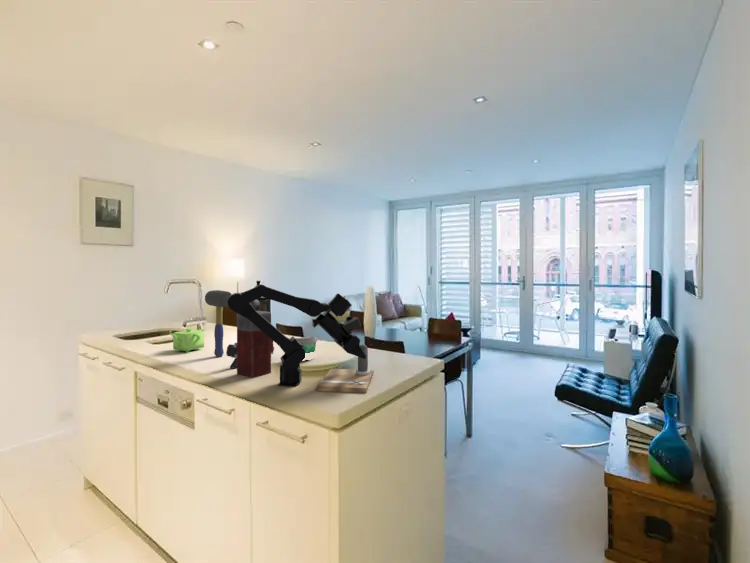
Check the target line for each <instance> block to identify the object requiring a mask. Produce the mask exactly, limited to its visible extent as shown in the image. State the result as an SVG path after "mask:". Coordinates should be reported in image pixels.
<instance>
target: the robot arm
mask: <svg viewBox="0 0 750 563" xmlns="http://www.w3.org/2000/svg"><path fill="white" fill-rule="evenodd" d="M231 294H232V295H231V296H230V297H229V299H228V306H227V308H228V309H230V310H231V311H233V312H235V313H236V314H237V313H238V314H239V315H241V316H243V317H245V318H247V319H249V320H250V321H251V322H252V323H253V324H254V325H256V326H257V327H258V328H259V329H260V330H261V331H263V332H264V333H265V334H266V335H267V336H268V337H270V338H271V339H272V340H273V343H276V344H277V345H278V346H279V348H280V350H282V351H283V353H284V354H283V355H282V356H280V362H281V363H282V364H281V365H280V366H279V382H278V383H277V385H278V386H284V387H285V386H287V387H289V386H290V387H291V386H292V387H296V386H298V385H299V384H300V383H302V381H303V380H302V377H303V376H302V370H303V369H301V362H303V361H302V360H303V359H304V358H305V350H304V349H303V347H304V346H303V345H302V343H301V342H298V341H297V340H296V339H295V338H296V337H294V336H291V337H292V338H291V337H290V338H291V339H290V338H289V337H288V336H286V335H285V334H284V333H282V332H281V331H280V330H279V329H278V328H277V327H276V326H274V325H273V324H272V322H271V323H270V322H268V321H267V320H266V319H265V318H264V317H263V316H262V315H260V314H259V313H258V312H257V311H256V310H255V309H254V308H253V306H252V305H251V304H250V302H252V301H254V300H258V299H260V298H265V299H267V300H270V301H273V302H276V303H277V302H278V303H279V304H284V305H287V306H290V307H292V308H295V309H297V310H298V311H301V312H302V313H303V314H306V315H308V316H310V317H311V318H312V319H311V327H313V328H316V327H317V326H318V325H319V326H320V328H321V329H322V330H324V332H326V333H327V335H328V336H330V338H332V340H333V341H334V342H335V343H336V345H338V346H339V347H341V348H342V349H343V350H344V352H346V353H347V354H350V355H352V356H355V357H357V358H358V357H360V358H363V359H365V358H366V355H365V354H364V352H363V351H362V349H361V348H360V345H361V339H360V337H358V336H357V335H356V334H352V331H355V329H358V328H361V327H362V323H361V322H360V319H359V317H357V316H353V317H352V316H349V315H348V316H346V317H345V321H344V322H341V321H339V320H338V319H336V318H338V317H341V318H342V317H343V316H344V315H345V314H346V312H348V310H350V309H351V307H352V306H353V305H352V303H351V302H350V301H349V300H348V299H346V298H345V297H343V295H341V294H340V293H338V292H337V293H336V294H335V296H334V297H333V298H332V299H331V300H330V301H329V302H328V303H327V302H326V303H325V302H324V303H323V302H320V301H319V300H316V299H313V298H307V297H300V296H299V297H298V296H295V295H292V294H289V293H286V292H283V291H280V290H278V289H274V288H271V287H269V286H266V285H264V284H257V286H255V287H253V288H251V289H248V290H246V291H243V292H242V293H240V292H234V293H231ZM333 315H334V316H333ZM313 317H314V318H313Z"/></svg>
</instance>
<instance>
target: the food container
mask: <svg viewBox="0 0 750 563" xmlns="http://www.w3.org/2000/svg"><path fill="white" fill-rule="evenodd" d="M291 338H292V336H290V339H291ZM294 338H295V339H296V340H297V341H298V342H301V343H302V345H303V346H304V347H303V349H304V350H305V353H310V352H314V351H315V352H316V346H317V342H318V337H317V336H314V337H300V338H299V337H298V338H297V337H294Z"/></svg>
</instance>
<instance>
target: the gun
mask: <svg viewBox="0 0 750 563" xmlns="http://www.w3.org/2000/svg"><path fill="white" fill-rule="evenodd" d="M274 351H275V347H274V345H273V352H271V354H273V355H274ZM225 353H226V356H227V357H229V358H232V359H234V360H232V363H231V364H230V366H229V368H230V369H236V370H237V342H234V344H231V343H229V344H228V346H227V347H226V352H225Z"/></svg>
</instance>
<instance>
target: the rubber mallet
mask: <svg viewBox="0 0 750 563" xmlns="http://www.w3.org/2000/svg"><path fill="white" fill-rule="evenodd" d="M232 294H233V293H231V292H229V291H227V290H219V289H218V290H217V289H215V290H209V291H207V292H206V293H205V295H204V301H205V303H206V304H207V305H208V306H211V307H215V325H214V352H213V353H214V355H215V357H217V358H218V357H223V355H224V353H225V352H224V343H223V341H224V327H223V308H226V307H227V308H228V299H229V297H230V296H231V295H232Z"/></svg>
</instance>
